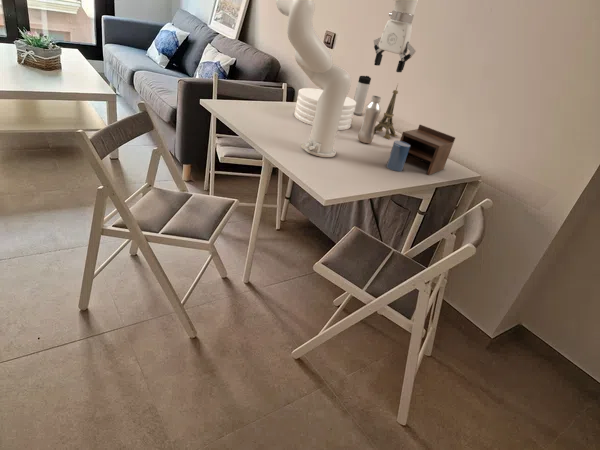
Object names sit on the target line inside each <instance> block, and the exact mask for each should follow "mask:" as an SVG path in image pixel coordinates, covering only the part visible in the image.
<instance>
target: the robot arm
mask: <svg viewBox="0 0 600 450" xmlns="http://www.w3.org/2000/svg"><path fill="white" fill-rule="evenodd" d="M394 1H395V2H394V6H393V9H392V12H389V13H388V17H390V19H388V20H387V21H386V24H385V26H384V28H383V31H382V33H381V36H380V37H377V38H374V39H373V45H374V46H373V48H374V50H375V54H376V55H375V59H374V66H381V63H382V60H383V56H384V55H383V53H384V52H389V53H392V54H396V55H398V56H399V58H400V60H398V62H397V66H396V71H395V72H396V73H402V72H403V71H404V68H405V64H406V62H408V60H410V59H411V58H412V57H413V56H414V55H415V53H416V52H417V50H416V49H415V48H414V47H413V45H411V39H412V33H413V25H412V24H413V19H414V17H415V13H416V9H417V7H418V2H419V0H394ZM315 2H316V1H315V0H275V5H276V7H277V10H278V11H279V12H280V13H281V14H282V15H283V16H286V17H287V24H286V25H287V27H286V28H287V29H286V31H287V32H286V33H287V34H286V35H287V38H288V40H289V42H290V44H291V45H292V47H293V48H294V58H295V62H296V63H297V65H298V66H299V68H300V69H301V70H302V72H303V73H304V74H305V75H306V76H307V78H308V79H309V80H310V81H311V82H312V83H313V84H314V85H315V86H316V87H318V89H321V90H323V92H322V94H321V96H320V97H319V100H318V102H317V106H316V111H315V116H314V121H313V125H311V129H310V130H311V131H310V136H309V138H308V140H307V142H304V143H302V144H301V149H303V150H304V151H305V152H306V153H308V154H311V155H312V156H316V157H320V158H333V157H335V156H336V153H337V152H336V149H334V145H335V141H336V138H337V133H338V130H337V129H338V125H339V121H340V117H341V113H342V109H343V105H344V102H345V99H346V96H347V97H348V94H349V92H350V90H351V87H352V77H351V74H350V73H349V71H347V70H346V69H345V68H343V67H341V66H339V65H337V64H335V63H333V55H332V53H331V50H330V49H329V48H328V47H327V45H326V44H325V43H324V42H323V40H322V39H321V37H320V36H319V35H318V33H317V31H316V30H315V27H314V26H313V18H314V15H315V14H314V13H315V10H316V3H315ZM408 51H409V52H408ZM407 53H408V54H407Z"/></svg>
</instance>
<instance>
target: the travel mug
mask: <svg viewBox="0 0 600 450" xmlns="http://www.w3.org/2000/svg"><path fill="white" fill-rule="evenodd" d="M371 81H372V77H370V76H369V75H359V77H358V80H357V84H356V89H355V91H354V96H353V100H354V101H356V106H355V111H354V112H353V113H354V115H355V116H362V114H363V112H364V111H363V110H364V109H365V108H364V107H365V104H366V101H367V97H368V93H369V88H370V85H371ZM354 115H353V116H354Z"/></svg>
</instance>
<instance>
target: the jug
mask: <svg viewBox="0 0 600 450" xmlns="http://www.w3.org/2000/svg"><path fill="white" fill-rule="evenodd" d="M410 147H411V145H410V144H408V143H406V142H403V141H400V140H394V141H393V143H392V147H391V150H390V153H389V155H388V158H387V163H386V168H387V169H388V170H390V171H395V172H402V171H404V168H405V164H406V161H407V158H408V157H407V155H408V152H409V150H410Z"/></svg>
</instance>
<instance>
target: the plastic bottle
mask: <svg viewBox="0 0 600 450" xmlns="http://www.w3.org/2000/svg"><path fill="white" fill-rule="evenodd" d="M381 99H382V98H381V96H378V95H372V96H371V98H370V102H368V104H366V106H364V107H365V108H364V116H363V121H362V123H361V127H360V130H359V131H358V134H357V139H358V141H359V142H362V143H365V144H371V143H372V142H373V140H374V136H375V134H374V129H375V126H376V125H377V121H378V119H379V117H380V113H381V111H382V110H381V106H380V103H381Z"/></svg>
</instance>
